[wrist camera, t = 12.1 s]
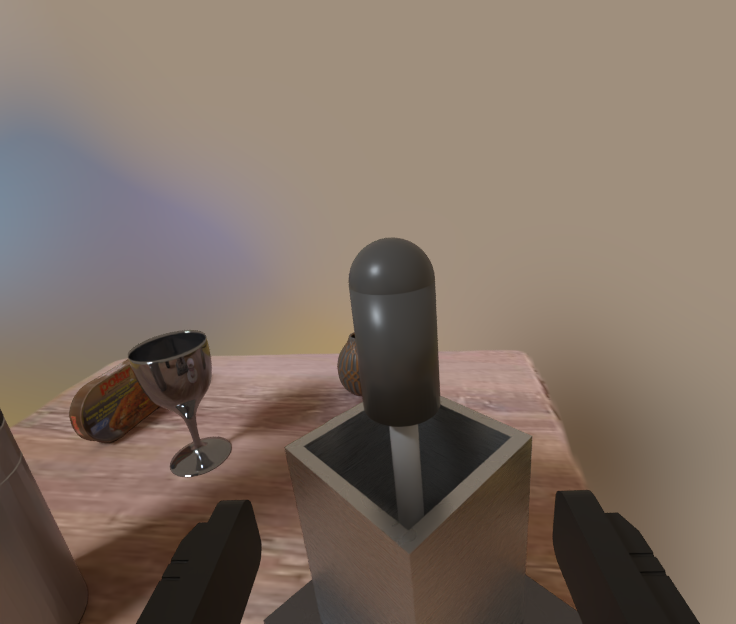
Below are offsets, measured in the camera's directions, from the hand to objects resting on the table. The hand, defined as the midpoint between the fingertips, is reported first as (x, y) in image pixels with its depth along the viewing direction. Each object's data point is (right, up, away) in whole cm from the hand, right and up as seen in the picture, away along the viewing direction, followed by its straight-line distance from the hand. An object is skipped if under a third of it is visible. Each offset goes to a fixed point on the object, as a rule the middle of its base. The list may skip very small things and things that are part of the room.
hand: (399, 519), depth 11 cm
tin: (-35, -10, +48) cm, 60 cm away
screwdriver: (+3, -14, +17) cm, 22 cm away
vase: (-1, -6, +50) cm, 50 cm away
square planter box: (+3, -17, +18) cm, 25 cm away
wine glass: (-21, -12, +39) cm, 46 cm away
